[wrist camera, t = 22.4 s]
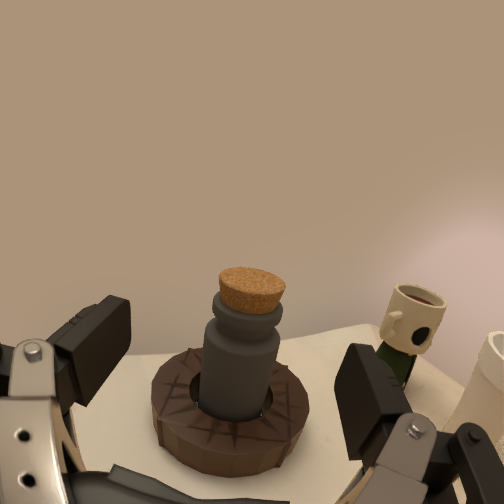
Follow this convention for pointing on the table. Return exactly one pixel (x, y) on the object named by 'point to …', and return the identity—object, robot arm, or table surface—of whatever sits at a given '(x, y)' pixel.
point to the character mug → (409, 327)
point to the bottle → (240, 344)
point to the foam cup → (484, 391)
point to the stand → (222, 432)
